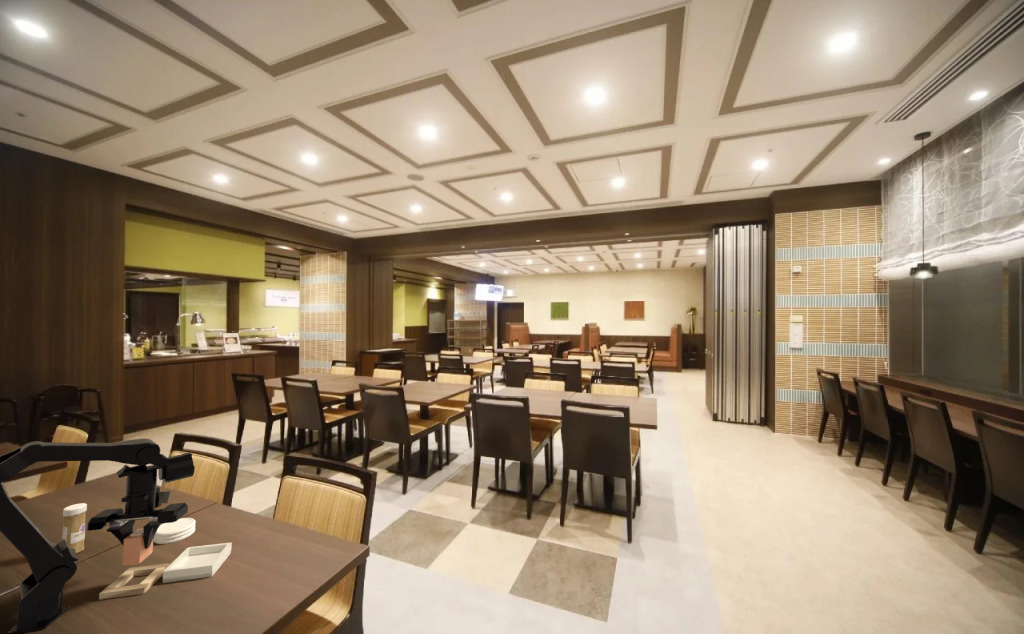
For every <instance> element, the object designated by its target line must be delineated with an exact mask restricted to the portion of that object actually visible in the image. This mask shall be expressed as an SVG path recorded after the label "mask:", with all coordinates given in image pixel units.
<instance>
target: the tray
mask: <svg viewBox="0 0 1024 634" xmlns="http://www.w3.org/2000/svg"><path fill="white" fill-rule="evenodd" d="M232 544H233V543H232V542H224V543H216V544H215V543H214V544H207V545H198V546H197V545H196V546H189V547H186V549H185V550H184V551H182V552H181V553H180V554H179V556H177V558H175V559H174V560H173V561H172V562H171V563H169V566H168V567H167V568H166V569H165V570H164V571H163V575H162V584H166V583H168V584H169V583H172V582H173V583H175V582H181V581H182V582H183V581H188V580H189V581H191V580H197V579H204V578H205V579H206V578H212V577H213V576H214V575H215V573H216V572H217V571H218V570H219V568H220V567H221V566H222V565H223V564H224V563H225V562H226V560H227V558H229V556H230V555H231V553H232Z"/></svg>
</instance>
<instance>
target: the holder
mask: <svg viewBox="0 0 1024 634" xmlns="http://www.w3.org/2000/svg"><path fill="white" fill-rule="evenodd" d="M169 565H170V563H168V562H167V563H160V564H159V563H158V564H151V565H142V566H134V567H128V568H127V569H126V570H125V571H124V572H123V573H121V575H119V576H118V577H117V578H115V580H114V581H112V582H111V583H110V584H109V585H108V586H106V587H105V588H104V589H103V590H102V591H101V592H99V595H98V600H99V601H101V600H107V599H116V598H123V597H129V596H136V595H137V596H138V595H144V594H145V593H146V592H147V591H148V590H149V589H150V588H152V586H153V585H154V584H155V583H157V581H159V580H160V578H162V577H163V571H164V570H165V569H166V568H167V567H168V566H169ZM142 576H146V578H145V579H143V580H142V581H140V583H139V584H132V585H131V584H130V585H126V584H128V582H130V580H131V579H133V578H134V577H142Z"/></svg>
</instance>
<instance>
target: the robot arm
mask: <svg viewBox="0 0 1024 634" xmlns="http://www.w3.org/2000/svg"><path fill="white" fill-rule="evenodd" d="M94 461H95V462H97V461H101V462H102V461H103V462H104V461H109V462H115V463H120V464H124V465H123V467H121V468H120V469H119V470H117V471H116V472H115V475H116V476H117V478H126V481H125V482H126V484H125V496H123V497H122V498H121V503H125V504H124V509H123V508H120V507H119V508H108V509H107V508H106V509H104V510H102V511H100V512H99V513H97V514H96V515H94V516H93V517H91V518H89V520H88V522H87V524H86V531H87V532H89V531H101V530H102V529H104V528H105V527H106V526H107V523H108V525H109V526H108V528H106V532H107V533H111V534H112V535H113V536H114V537H115V538H117V540H118V541H119V542H120V544H121V545H122V546H124V539H125V538H126V537H128V536H129V535H130V534H132V533H133V532H134V524H135V522H136V521H138V520H149V522H148V523H146V524H145V525H143V528H142V529H143V532H144V546H145V549H147V548H148V547H149V546H150V544H151V542H152V540H153V539H154V536H155V534H156V532H157V530H158V528H159V526H160V525H162V524H164V523H173V522H176V521H177V520H179V519H181V518H183V516H185V515H186V514H187V513H188V512H189V505H188V504H187V503H186V502H179V503H178V502H177V503H170V504H169V505H167V506H166V507H164V508H160V507H161V506H162V504H168V502H169V499H170V494H171V490H167V491H161V489H160V486H157V484H158V481H157V480H159V481H163V482H164V483H165V484H167V483H171V482H176V481H180V480H183V479H184V480H185V479H187V478H193V477H194V473H195V465H194V459H193V453H191V452H185V453H181V454H179V455H178V454H177V455H173V456H169V457H167V456H165V455H164V454H163V453H161V447H160V445H159V444H157V443H156V441H153V440H152V439H150V438H137V439H129V440H127V439H126V440H123V441H122V440H121V441H118V442H47V441H45V442H44V441H40V440H39V441H30V442H27V443H25V444H23V445H22V446H20V447H18V448H16V449H14V450H11V451H9V452H7V453H4V454H2V455H0V533H1V534H2V535H3V536H4V537H5V538H6V539H7V540H8V541H9V542H10V543H11V544H12V545H13V546H14V547H15V548H16V549H17V551H18V552H19V553H20V554H21V555H22V556H24V558H25V559H26V560H27V563H28V565H29V567H30V570H31V573H30V574H29V575H28V576H27V577H25V578H24V579H23V580H22V581H21V582H20V583H19V590H20V600H19V601H20V602H19V603H18V604H17V617H16V618H17V620H16V624H15V625H14V626H12V627H11V628H12V629H13V630H12V631H10V633H11V632H13V634H19V633H25V632H32V631H39V630H44V629H46V628H47V627H49V625H51V624H52V623H53V622H55V621H56V620H57V619H59V618H60V617H61V616H62V615H63V614H64V613H66V612H67V611H68V610H69V609H70V605H64V606H62V605H63V593H64V587H65V584H66V583H67V582H68V581H70V580H71V579H72V578H73V577H74V576H75V574H76V572H77V570H78V566H77V563H76V562H78V561H79V557H78V555H77V554H78V553H77V554H76V552H75V549H71V548H70V547H69V546H68V545H67V542H66V540H65V539H64V540H62V539H61V541H60V542H58V543H56V542H53V541H51V540H49V539H48V538H47V536H46V535H44V533H43V532H42V531H41V530H40V529H39V528H38V527H37V526H36V524H35V523H34V522H33V521H32V520H31V519H30V518H29V516H28V515H26V514H25V513H24V511H23V510H22V509H21V508H20V507H19V505H17V503H16V502H15V501H14V500H13V499H12V498H11V497H10V496H9V492H8V490H7V488H6V486H5V485H6V484H5V483H4V482H6V481H7V480H11V478H13V477H15V476H16V475H17V474H19V473H20V472H22V471H24V470H26V469H27V468H29V467H30V466H32V465H34V464H36V463H38V462H40V463H41V462H45V463H47V462H94ZM129 465H133V466H129ZM157 508H160V509H157ZM15 632H16V633H15Z"/></svg>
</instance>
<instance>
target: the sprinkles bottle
mask: <svg viewBox="0 0 1024 634" xmlns="http://www.w3.org/2000/svg"><path fill="white" fill-rule="evenodd" d="M62 511H63V512H62V516H63V523H62V524H63V525H62V533H61V534H62V536H61V541H62V540H64V539H65V540H66V542H67V545H68V546H69V547H70V548H71V549H75V552H76V554H79V553H80V552H82V551H84V550H85V538H86V515H87V513H86V512H87V511H88V504H87V503H85V502H82V503H81V502H80V503H76V504H71V505H68V506H66V507H64V508H63V510H62Z"/></svg>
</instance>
